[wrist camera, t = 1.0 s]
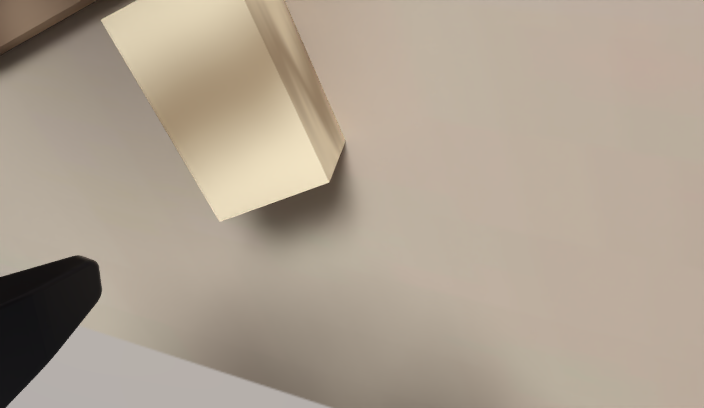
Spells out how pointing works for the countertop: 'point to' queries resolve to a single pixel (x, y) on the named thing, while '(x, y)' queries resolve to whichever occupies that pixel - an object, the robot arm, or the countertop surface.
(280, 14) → the maple block
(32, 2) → the nest board
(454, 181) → the countertop surface
